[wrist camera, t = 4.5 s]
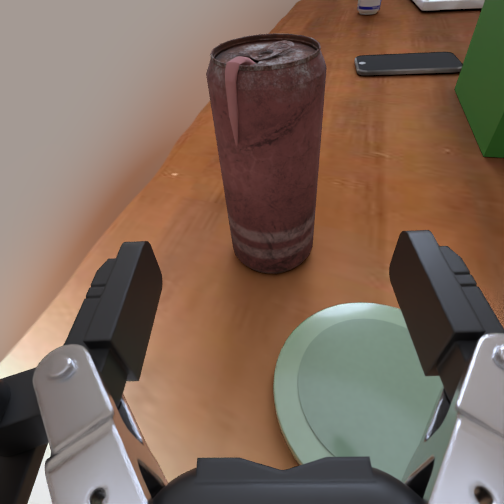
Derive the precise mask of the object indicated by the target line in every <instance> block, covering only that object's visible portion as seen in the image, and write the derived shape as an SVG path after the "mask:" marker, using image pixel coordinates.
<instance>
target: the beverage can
mask: <svg viewBox="0 0 504 504" xmlns="http://www.w3.org/2000/svg"><path fill="white" fill-rule="evenodd" d="M380 5H381V0H358V7H357V10H358V11H359V13H360V14H364V15H370V14H375V13H376V12H377V11H378V10H379V9H380Z"/></svg>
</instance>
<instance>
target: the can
mask: <svg viewBox="0 0 504 504" xmlns="http://www.w3.org/2000/svg"><path fill="white" fill-rule="evenodd" d="M320 48H321V47H320V43H319V42H318V41H316V40H315V39H313V38H310V37H306V36H302V35H294V34H261V35H253V36H247V37H242V38H238V39H233V40H230V41H227V42H225V43H222V44H220V45H218V46H217V47H215V48H214V49H213V50H212V52H211V54H210V55H211V60H210V64H209V67H208V70H207V73H206V75H207V82H208V88H209V94H210V101H211V108H212V114H213V121H214V127H215V134H216V140H217V146H218V153H219V159H220V166H221V172H222V179H223V185H224V192H225V198H226V205H227V211H228V218H229V224H230V230H231V237H232V243H233V248H234V252H235V255H236V256H237V257H238V259H239V260H240V261H241V262H242V263H243V264H245V265H246V266H248V267H249V268H251V269H253V270H255V271H258V272H262V273H271V274H278V273H282V272H286V271H289V270H291V269H293V268H295V267H297V266H298V265H300V264H301V263H302V262H303V261H304V260H305V259H306V258H307V257H308V256H309V254H310V251H311V249H312V245H313V232H314V219H315V207H316V194H317V181H318V168H319V156H320V143H321V130H322V118H323V105H324V92H325V79H326V64H325V60H324V58H323V56H322V53H321V51H320Z"/></svg>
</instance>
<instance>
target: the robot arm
mask: <svg viewBox="0 0 504 504" xmlns="http://www.w3.org/2000/svg"><path fill="white" fill-rule="evenodd" d="M389 275H390V281H391V284H392V287H393V290H394V292H395V295H396V298H397V301H398V303H399V306H400V309H401V312H402V314H403V317H404V320H405V323H406V325H407V328H408V331H409V334H410V336H411V339H412V342H413V345H414V347H415V350H416V353H417V355H418V358H419V361H420V364H421V366H422V369H423V372H424V375H425V376H440V379H441V381H442V384H443V386H442V388H441V390H440V392H439V395H438V397H437V400H436V402H435V405H434V407H433V410H432V413H431V415H430V418H429V420H428V423H427V425H426V428H425V430H424V433H423V436H422V438H421V441H420V443H419V445H418V447H417V449H416V451H415V453H414V454H413V456H412V458H411V460H410V462H409V464H408V466H407V468H406V470H405V473H404V475H403V478H402V480H401V481H400V480H399V479H397V478H395V477H394V476H392V475H390V474H388V473H386V472H384V471H382V470H379V469H377V468H374V467H372V466H371V461H370V456H364V457H324V458H321V459H318V460H315V461H312V462H309V463H306V464H303V465H300V466H296V467H293V468H290V469H287V470H279V469H275V468H272V467H269V466H265V465H262V464H259V463H255V462H252V461H249V460H245V459H242V458H198V459H197V468H195V469H192V470H190V471H188V472H185V473H183V474H181V475H180V476H178V477H177V478H175V479H174V480H172V481H171V482H170V483H168V482H167V480H166V478H165V475H164V473H163V471H162V469H161V468H160V466H159V464H158V462H157V460H156V459H155V457H154V456H153V454H152V453H151V451H150V449H149V447H148V445H147V443H146V441H145V439H144V437H143V435H142V433H141V431H140V428H139V426H138V424H137V422H136V420H135V418H134V416H133V414H132V411H131V409H130V407H129V405H128V403H127V401H126V399H125V396H124V395H123V391H124V387H125V384H126V381H139V378H140V374H141V370H142V366H143V362H144V358H145V354H146V350H147V346H148V342H149V338H150V334H151V330H152V327H153V323H154V319H155V315H156V311H157V307H158V303H159V299H160V295H161V290H162V274H161V271H160V268H159V265H158V263H157V260H156V258H155V255H154V252H153V250H152V247H151V245H150V243H149V242H148V241H141V242H124V243H123V244H122V245H121V247H120V250H119V252H118V255H117V257H116V259H108V260H107V261H106V262H105V263H104V264H103V265H102V266H101V267H100V268H99V269H98V270H97V272H96V274H95V277H94V279H93V281H92V283H91V288H89V290H88V292H87V295H86V299H84V301H83V304H82V306H81V308H80V310H79V313H78V315H77V317H76V319H75V321H74V324H73V326H72V328H71V330H70V333H69V335H68V337H67V339H66V341H65V343H64V345H63V346H61V347H59V348H57V349H55V350H53V351H52V352H50V353H49V354H48V355H46V356H45V357H44V358H43V359H42V360H41V362H40V363H39V364H38V366H37V367H36V368H33V369H30V370H27V371H24V372H21V373H18V374H15V375H12V376H9V377H6V378H3V379H0V504H27V503H28V500H29V497H30V495H31V492H32V489H33V486H34V483H35V480H36V477H37V474H38V471H39V468H40V465H41V462H42V459H43V456H44V453H45V450H46V447H47V444H48V443H49V445H50V449H51V457H50V458H48V459H47V460H46V462H45V475H46V480H47V484H48V487H49V491H50V495H51V499H52V503H53V504H504V329H503V327H502V325H501V324H500V322H499V320H498V319H497V317H496V315H495V314H494V312H493V310H492V309H491V307H490V305H489V303H488V302H487V300H486V298H485V297H484V295H483V293H482V292H481V290H480V288H479V287H477V286H476V284H477V283H476V282H475V280H474V278H473V277H472V275H470V272H469V270H468V268H467V267H466V265H465V263H464V262H463V260H462V258H461V257H460V256H458V255H457V254H456V253H455V252H454V251H452V250H451V249H450V248H449V247H448V246H439V245H438V243H437V241H436V240H435V238H434V236H433V234H432V233H431V232H430V231H429V230H417V231H402V232H401V234H400V236H399V239H398V242H397V245H396V248H395V251H394V254H393V257H392V260H391V263H390V268H389Z"/></svg>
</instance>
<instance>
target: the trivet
mask: <svg viewBox="0 0 504 504" xmlns="http://www.w3.org/2000/svg"><path fill="white" fill-rule="evenodd" d="M442 386H443V384H442V381H441V379H440V376H425V375H424V372H423V369H422V366H421V364H420V361H419V358H418V355H417V353H416V350H415V347H414V345H413V342H412V339H411V336H410V334H409V331H408V328H407V325H406V323H405V320H404V317H403V314H402V312H401V309H398V308H395V307H391V306H387V305H382V304H375V303H362V302H360V303H346V304H340V305H336V306H332V307H329V308H326V309H324V310H321V311H319V312H317V313H315V314H314V315H312V316H310V317H309V318H307V319H306V320H305V321H303V322H302V323H301V324H300V325H299V326H298V327H297V328H296V329H295V330H294V331H293V332H292V333H291V335H290V336H289V337H288V339H287V340H286V342H285V344H284V345H283V347H282V349H281V351H280V354H279V357H278V360H277V363H276V367H275V372H274V383H273V390H274V405H275V411H276V416H277V420H278V423H279V426H280V430H281V433H282V435H283V437H284V439H285V442H286V444H287V446H288V448H289V450H290V451H291V453H292V455H293V456H294V458H295V459H296V461H297V463H298V464H299V465H303V464H306V463H309V462H312V461H315V460H318V459H321V458H324V457H364V456H370V461H371V466H372V467H374V468H377V469H379V470H382V471H384V472H386V473H388V474H390V475H392V476H394V477H395V478H397V479H399V480H400V481H401V480H402V478H403V475H404V473H405V470H406V468H407V466H408V464H409V462H410V460H411V458H412V456H413V454H414V453H415V451H416V449H417V447H418V445H419V443H420V441H421V438H422V436H423V433H424V430H425V428H426V425H427V423H428V420H429V418H430V415H431V413H432V410H433V407H434V405H435V402H436V400H437V397H438V395H439V392H440V390H441V388H442Z"/></svg>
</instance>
